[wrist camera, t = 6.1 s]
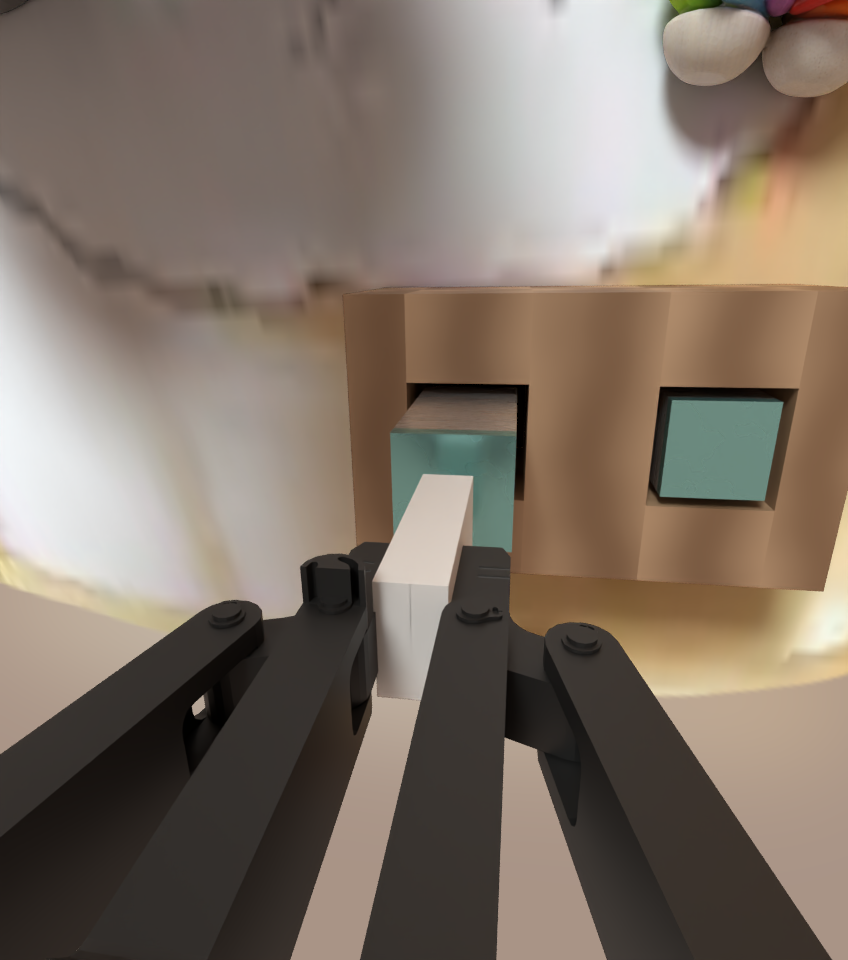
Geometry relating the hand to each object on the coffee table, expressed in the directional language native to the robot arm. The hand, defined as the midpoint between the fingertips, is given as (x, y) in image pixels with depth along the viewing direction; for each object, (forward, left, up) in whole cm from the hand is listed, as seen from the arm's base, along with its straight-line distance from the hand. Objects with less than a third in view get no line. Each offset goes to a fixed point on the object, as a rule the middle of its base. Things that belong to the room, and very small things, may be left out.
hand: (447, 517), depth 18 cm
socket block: (+4, +3, -16) cm, 16 cm away
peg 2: (+7, +6, -16) cm, 18 cm away
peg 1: (0, 0, -10) cm, 10 cm away
